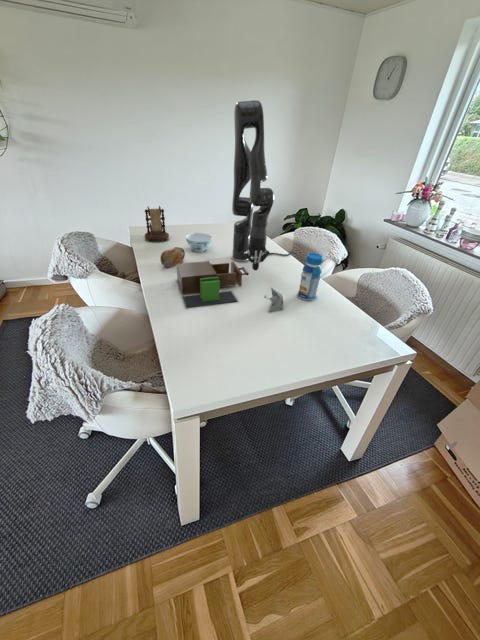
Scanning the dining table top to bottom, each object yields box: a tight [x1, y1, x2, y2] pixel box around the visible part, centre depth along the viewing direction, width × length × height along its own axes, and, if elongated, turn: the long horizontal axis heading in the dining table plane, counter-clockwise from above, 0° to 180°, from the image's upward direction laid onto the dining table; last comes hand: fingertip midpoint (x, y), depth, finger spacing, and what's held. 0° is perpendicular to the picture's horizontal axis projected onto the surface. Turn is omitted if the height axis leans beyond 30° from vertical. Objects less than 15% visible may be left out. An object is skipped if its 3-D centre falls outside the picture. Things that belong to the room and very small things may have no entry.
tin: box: [159, 246, 186, 268], centre depth 158 cm, size 15×3×8 cm, turn 143°
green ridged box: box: [199, 277, 221, 302], centre depth 129 cm, size 8×4×10 cm, turn 109°
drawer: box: [210, 261, 250, 288], centre depth 144 cm, size 19×13×7 cm
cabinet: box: [175, 260, 217, 296], centre depth 139 cm, size 16×15×9 cm
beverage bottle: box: [297, 252, 324, 301], centre depth 133 cm, size 8×8×20 cm
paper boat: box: [263, 287, 284, 313], centre depth 129 cm, size 12×6×9 cm
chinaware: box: [185, 232, 213, 253], centre depth 177 cm, size 15×15×8 cm
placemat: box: [182, 290, 238, 309], centre depth 132 cm, size 22×9×1 cm, turn 109°
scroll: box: [144, 205, 170, 243], centre depth 185 cm, size 15×15×20 cm
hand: (255, 269), depth 147 cm, fingers closed
